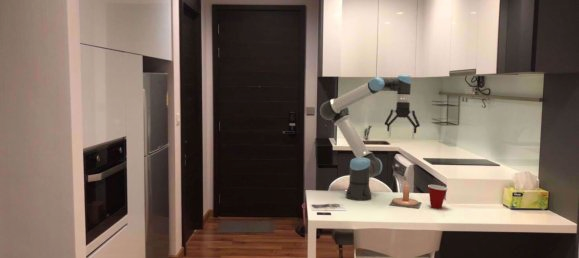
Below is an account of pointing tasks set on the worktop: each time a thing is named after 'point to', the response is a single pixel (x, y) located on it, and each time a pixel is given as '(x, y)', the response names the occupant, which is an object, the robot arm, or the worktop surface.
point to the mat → (406, 206)
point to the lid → (405, 198)
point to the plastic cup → (437, 195)
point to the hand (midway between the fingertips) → (401, 137)
